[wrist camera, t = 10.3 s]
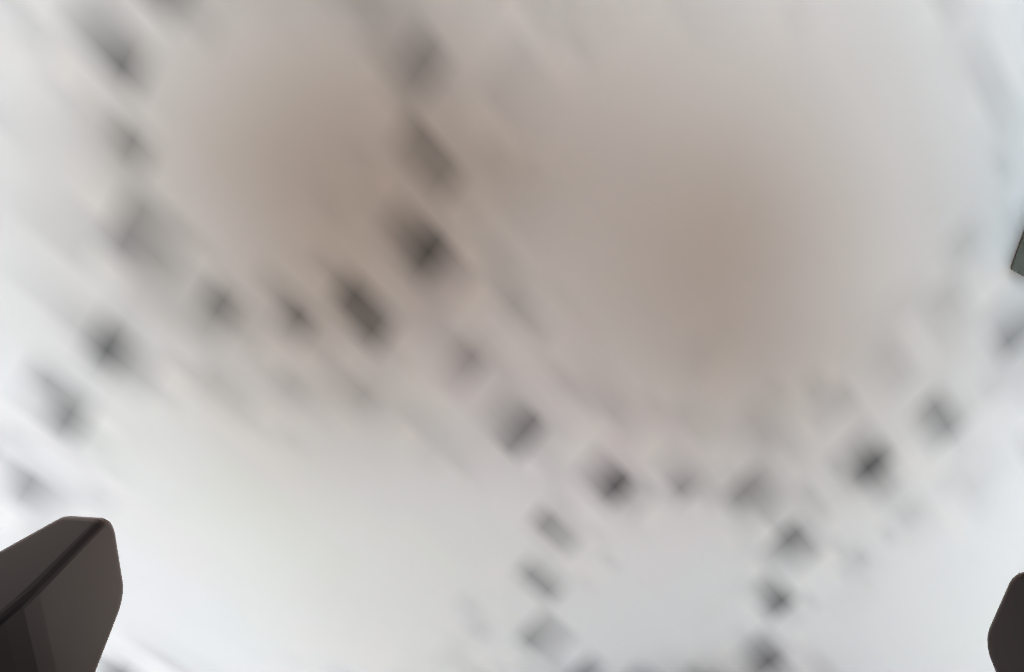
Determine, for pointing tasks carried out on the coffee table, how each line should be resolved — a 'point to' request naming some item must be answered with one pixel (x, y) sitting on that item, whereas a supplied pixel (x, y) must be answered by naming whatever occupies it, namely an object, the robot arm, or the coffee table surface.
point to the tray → (1019, 259)
